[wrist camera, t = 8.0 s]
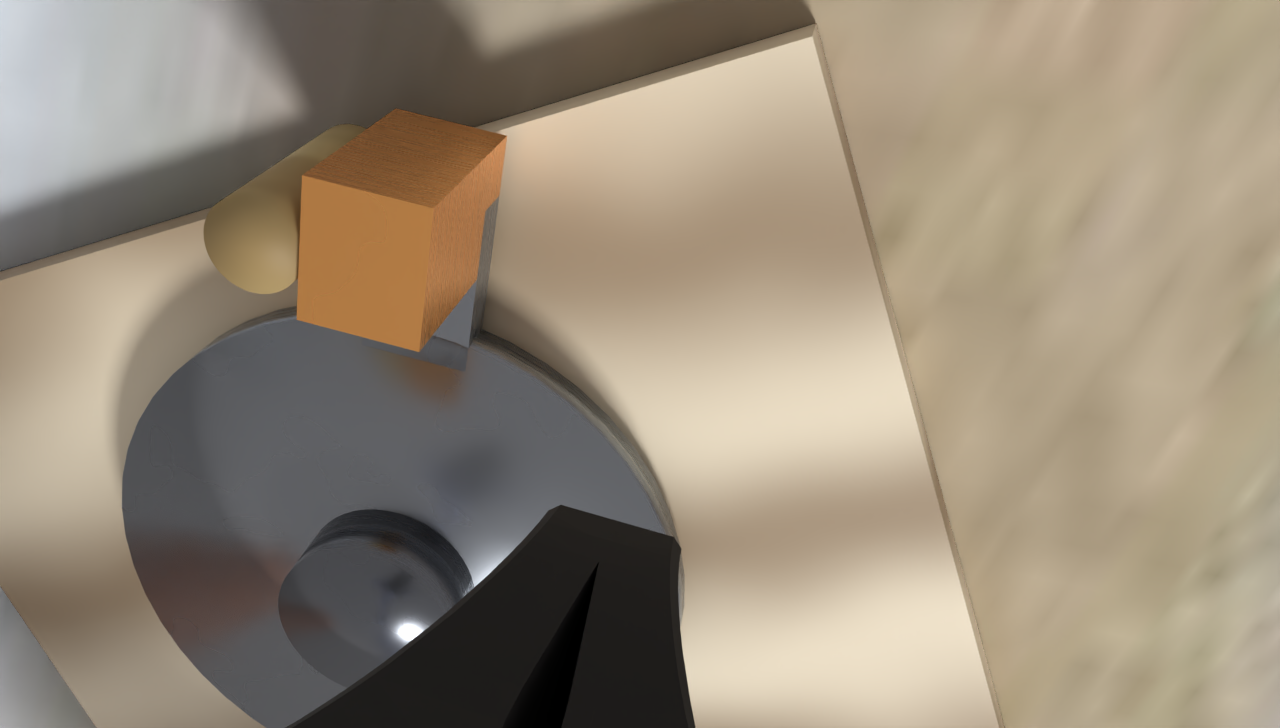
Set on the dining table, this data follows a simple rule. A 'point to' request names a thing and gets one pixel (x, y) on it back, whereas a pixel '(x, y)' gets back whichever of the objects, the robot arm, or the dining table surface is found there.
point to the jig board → (593, 361)
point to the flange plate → (362, 437)
